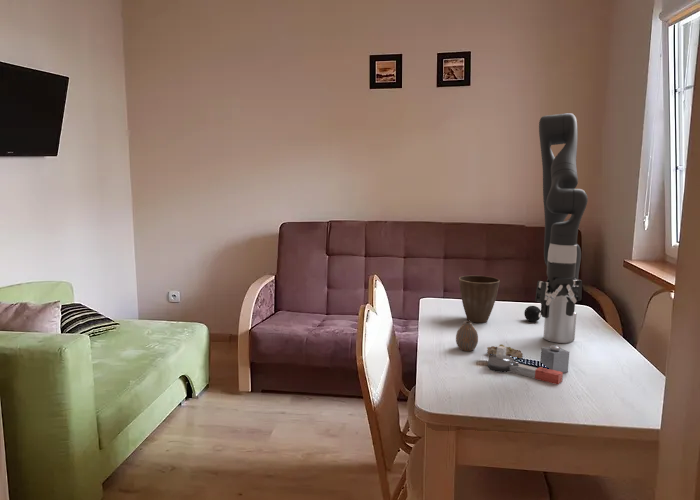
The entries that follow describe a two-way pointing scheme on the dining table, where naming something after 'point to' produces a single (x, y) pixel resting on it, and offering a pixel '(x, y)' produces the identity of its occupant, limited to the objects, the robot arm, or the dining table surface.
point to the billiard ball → (532, 313)
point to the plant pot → (478, 296)
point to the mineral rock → (509, 351)
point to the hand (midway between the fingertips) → (557, 316)
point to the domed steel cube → (555, 358)
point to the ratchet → (521, 367)
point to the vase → (467, 337)
